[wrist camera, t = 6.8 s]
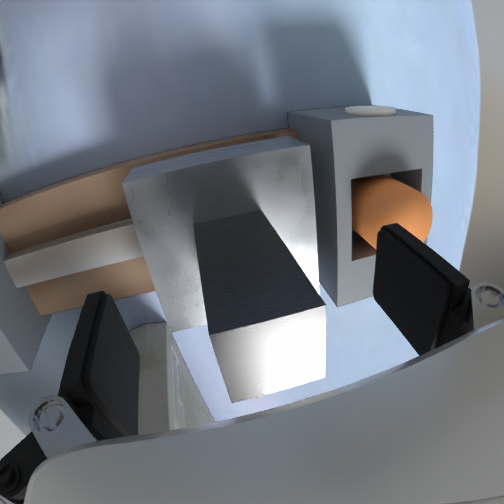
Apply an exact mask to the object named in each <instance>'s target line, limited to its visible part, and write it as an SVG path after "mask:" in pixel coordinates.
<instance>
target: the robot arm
mask: <svg viewBox="0 0 504 504" xmlns="http://www.w3.org/2000/svg"><path fill="white" fill-rule="evenodd" d="M469 282H470V280H469V279H467V278H466V277H465V276H464V275H463V274H461V273H460V272H459V271H458V270H457V269H456V268H454V267H453V266H452V265H451V264H450V263H448V262H447V261H446V260H445V259H443V258H442V257H441V256H440V255H438V254H437V253H436V252H435V251H433V250H432V249H431V248H430V247H428V246H427V245H426V244H425V243H423V242H422V241H421V240H419V239H418V238H417V237H415V236H414V235H413V234H412V233H410V232H409V231H408V230H406V229H405V228H404V227H402V226H401V225H399V224H398V223H393V224H389V225H384V226H382V227H381V229H380V231H378V233H377V245H376V260H375V272H374V283H373V296H374V299H375V301H376V302H377V303H378V304H379V305H380V307H381V308H382V309H383V310H384V312H385V313H386V314H387V315H388V317H389V318H390V319H391V320H392V321H393V323H394V324H395V325H396V326H397V328H398V329H399V330H400V331H401V333H402V334H403V335H404V337H405V338H406V339H407V340H408V342H409V343H410V344H411V345H412V347H413V348H414V349H415V351H416V352H417V353H418V354H419V356H418V357H416V358H414V359H412V360H409V361H407V362H405V363H402V364H400V365H398V366H395V367H393V368H390V369H388V370H386V371H383V372H381V373H378V374H375V375H373V376H370V377H368V378H365V379H362V380H360V381H357V382H354V383H352V384H349V385H346V386H343V387H340V388H338V389H335V390H332V391H329V392H326V393H323V394H320V395H316V396H313V397H310V398H307V399H304V400H300V401H297V402H294V403H290V404H287V405H283V406H280V407H276V408H272V409H268V410H265V411H261V412H257V413H253V414H249V415H245V416H241V417H236V418H232V419H227V420H223V421H218V422H213V423H208V424H203V425H198V426H192V427H186V428H180V429H175V430H169V431H163V432H156V433H149V434H142V435H138V407H139V374H140V355H139V351H138V349H137V347H136V345H135V343H134V341H133V339H132V337H131V335H130V333H129V331H128V329H127V327H126V325H125V323H124V321H123V319H122V317H121V315H120V313H119V311H118V309H117V306H116V304H115V302H114V300H113V298H112V296H111V295H110V294H106V293H105V292H104V291H99V292H94V293H90V294H87V296H86V299H85V302H84V305H83V308H82V311H81V314H80V318H79V321H78V324H77V327H76V331H75V334H74V337H73V339H72V342H71V346H70V349H69V353H68V357H67V360H66V364H65V368H64V372H63V376H62V380H61V384H60V389H59V393H58V396H48V397H45V398H43V399H42V400H40V401H39V402H38V403H37V404H36V405H35V406H34V408H33V409H32V411H31V414H30V417H29V425H30V428H31V430H32V432H31V433H30V434H28V435H27V436H26V437H25V438H24V439H23V440H22V441H21V442H20V443H19V444H17V445H16V446H15V447H14V448H13V449H12V450H11V451H10V452H9V453H8V454H6V455H5V456H4V457H3V458H2V459H1V460H0V504H504V290H502V289H501V288H500V287H498V286H496V285H494V284H490V283H479V284H476V285H475V286H474V287H473V288H472V290H471V289H469V288H468V286H469Z"/></svg>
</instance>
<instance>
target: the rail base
mask: <svg viewBox="0 0 504 504" xmlns="http://www.w3.org/2000/svg"><path fill="white" fill-rule="evenodd" d="M284 136H289V137H292V138H294V139H297V140H299V139H298V131H297V130H294V129H291V128H285V129H278V130H271V131H264V132H258V133H252V134H246V135H240V136H235V137H229V138H224V139H219V140H214V141H209V142H204V143H199V144H194V145H190V146H185V147H181V148H177V149H172V150H168V151H164V152H160V153H156V154H152V155H148V156H144V157H140V158H136V159H133V160H129V161H125V162H122V163H118V164H115V165H111V166H108V167H105V168H101V169H98V170H95V171H92V172H88V173H85V174H82V175H79V176H76V177H73V178H70V179H67V180H64V181H61V182H58V183H55V184H53V185H50V186H47V187H44V188H41V189H39V190H36V191H33V192H31V193H28V194H26V195H23V196H20V197H18V198H15V199H13V200H10V201H8V202H6V203H3V204H2V205H1V206H0V232H1V234H2V237H3V239H4V242H5V244H6V246H7V249H8V251H9V253H10V254H9V255H8V257H7V258H6V259H5V260H4V263H5V265H6V268H7V270H8V272H9V274H10V276H11V278H12V280H13V282H14V284H15V286H16V288H19V287H23V286H25V287H26V289H27V291H28V293H29V295H30V297H31V299H32V301H33V303H34V304H35V306H36V308H37V310H38V312H39V313H40V315H46V314H51V313H55V312H60V311H65V310H69V309H74V308H79V307H83V305H84V302H85V299H86V296H87V294H90V293H94V292H99V291H104V292H105V293H106V294H110V295H111V296H112V298H113V300H116V299H120V298H125V297H129V296H134V295H138V294H143V293H147V292H152V291H156V290H155V287H154V284H153V281H152V279H151V276H150V273H149V270H148V267H147V264H146V261H145V258H144V255H143V252H142V249H141V246H140V243H139V240H138V237H137V234H136V230H135V227H134V224H133V221H132V217H131V214H130V211H129V207H128V204H127V200H126V197H125V193H124V190H123V186H122V183H123V181H124V180H125V178H126V177H127V175H128V173H129V172H130V170H131V169H132V168H134V167H138V166H142V165H146V164H150V163H154V162H158V161H162V160H166V159H170V158H174V157H178V156H183V155H187V154H192V153H196V152H201V151H206V150H210V149H215V148H220V147H226V146H231V145H236V144H242V143H247V142H253V141H259V140H265V139H271V138H278V137H284Z"/></svg>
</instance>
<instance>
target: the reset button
mask: <svg viewBox="0 0 504 504" xmlns="http://www.w3.org/2000/svg"><path fill="white" fill-rule="evenodd" d="M351 204H352V229H353V230H354V231H356V232H357V233H358V234H359V235H360V236H361V237H362V238H364V239H365V240H366V241H367V242H368V243H369V244H370V245H372V246H373V247H374V248H375V249H376V245H377V233H378V231H380V229H381V227H382V226H384V225H389V224H393V223H398V224H399V225H401V226H402V227H404V228H405V229H406V230H408V231H409V232H410V233H412V234H413V235H414V236H415V237H417V238H418V239H419V240H421V241H422V242H424V241H425V239H426V237H427V235H428V233H429V231H430V228H431V224H432V207H431V204H430V202H429V200H428V198H427V197H426V196H425V195H424V194H423V193H421V192H419V191H417V190H416V189H414V188H412V187H410V186H408V185H406V184H404V183H402V182H400V181H398V180H396V179H394V178H392V177H390V176H388V175H385V174H381V175H374V176H368V177H362V178H356V179H351Z"/></svg>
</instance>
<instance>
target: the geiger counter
mask: <svg viewBox="0 0 504 504" xmlns="http://www.w3.org/2000/svg"><path fill="white" fill-rule="evenodd" d="M130 335H131V337H132V339H133V341H134V343H135V345H136V347H137V349H138V351H139V355H140V374H139V407H138V435H142V434H149V433H156V432H163V431H169V430H175V429H180V428H186V427H192V426H198V425H203V424H208V423H213V422H215V420H214V418H213V416H212V414H211V413H210V411H209V409H208V407H207V405H206V403H205V401H204V399H203V397H202V395H201V393H200V391H199V389H198V387H197V386H196V384H195V382H194V380H193V377H192V375H191V373H190V371H189V369H188V367H187V365H186V363H185V361H184V359H183V357H182V355H181V353H180V350H179V348H178V346H177V344H176V342H175V340H174V337H173V335H172V333H171V331H170V328H169V326H168V324H167V322H162V323H148V324H144V325H142V326H140V327H137V328H135V329H132V330H130Z"/></svg>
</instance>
